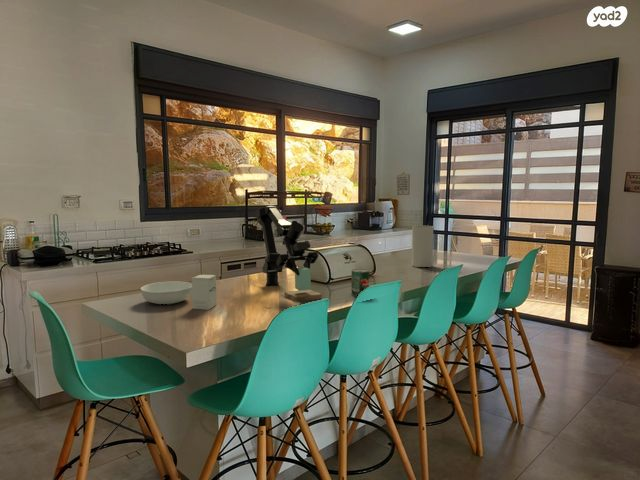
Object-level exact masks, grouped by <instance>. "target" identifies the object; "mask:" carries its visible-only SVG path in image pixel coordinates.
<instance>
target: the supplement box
mask: <svg viewBox="0 0 640 480" xmlns="http://www.w3.org/2000/svg"><path fill="white" fill-rule="evenodd" d="M191 283H192V293H191V306H192V307H191V308H192V309H193V310H207V311H208V310H210V309H212V308H213V307H215V306H217V275H215V274H199V275H195V276H193V277H191Z"/></svg>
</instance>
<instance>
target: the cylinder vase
mask: <svg viewBox="0 0 640 480" xmlns="http://www.w3.org/2000/svg"><path fill="white" fill-rule="evenodd" d="M411 230H412V232H411V233H412V235H411V236H412V237H411V241H412V242H411V266H412V267H413V266H414V267H413V268H418V267H429V268H433V262H434V261H433V257H434V256H433V255H434V252H433V251H434V225H421V224H419V225H412V229H411Z"/></svg>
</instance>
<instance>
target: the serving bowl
mask: <svg viewBox="0 0 640 480" xmlns="http://www.w3.org/2000/svg"><path fill="white" fill-rule="evenodd" d="M140 293H141V296H142V298H143V299H144V300H146V301H147V302H149V303H152V304H158V305H161V304H164V305H165V304H167V305H174V304H177V303H181V302H183V301H186V300H187V299H188V298H189V297H190V296H192V282H189V281H181V280H180V281H179V280H177V281H176V280H175V281H173V280H172V281H159V282H153V283H148V284H145V285H143V286H141V287H140Z"/></svg>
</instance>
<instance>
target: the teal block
mask: <svg viewBox="0 0 640 480" xmlns="http://www.w3.org/2000/svg"><path fill="white" fill-rule="evenodd" d="M297 269H298V271H299V275H297V274H295V273H294V290H300V291H301V290H312V289H311V286H312V283H311V281H312V280H311V277H312V276H311V275H312V274H311V270H312V269H311V268H310V269H309V268H306V267H304V266H303V267H297Z"/></svg>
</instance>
